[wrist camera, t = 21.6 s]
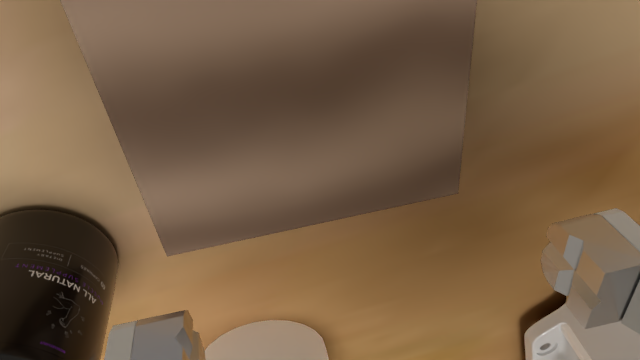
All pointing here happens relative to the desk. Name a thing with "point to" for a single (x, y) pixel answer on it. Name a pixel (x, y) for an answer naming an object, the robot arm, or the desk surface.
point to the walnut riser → (279, 107)
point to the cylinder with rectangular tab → (268, 342)
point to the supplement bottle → (54, 286)
